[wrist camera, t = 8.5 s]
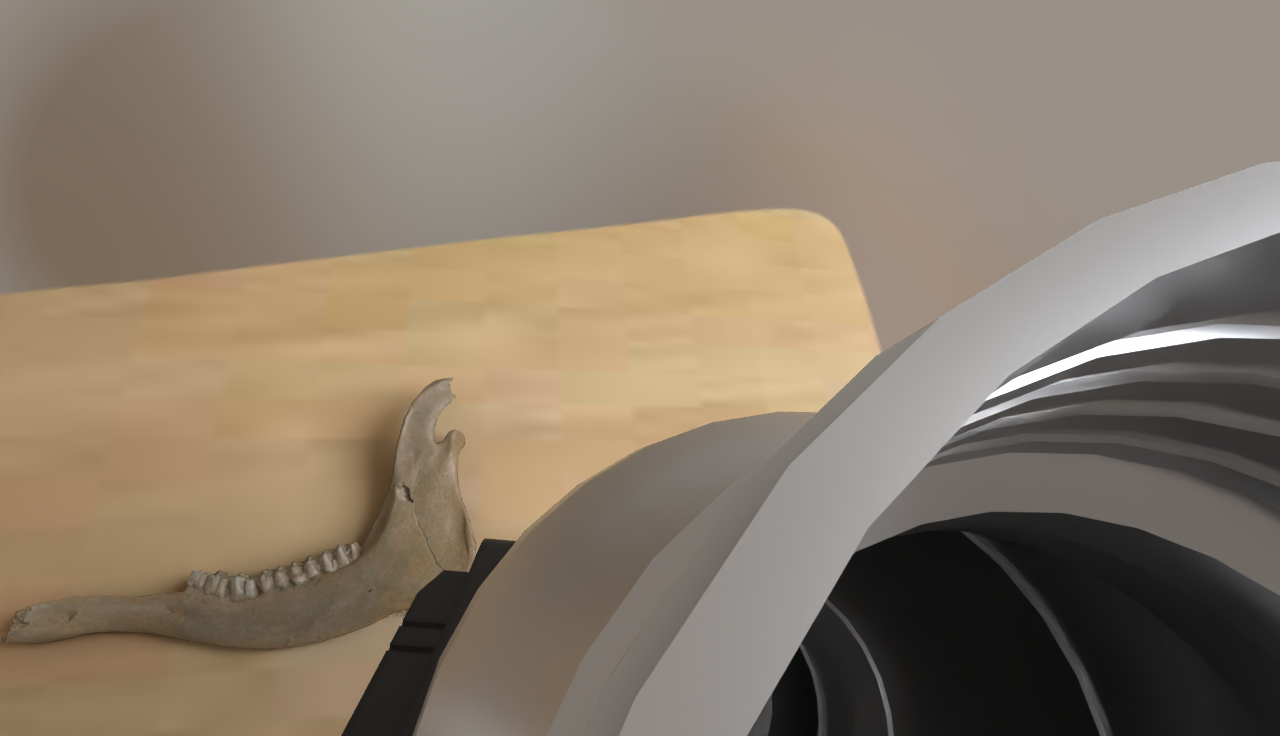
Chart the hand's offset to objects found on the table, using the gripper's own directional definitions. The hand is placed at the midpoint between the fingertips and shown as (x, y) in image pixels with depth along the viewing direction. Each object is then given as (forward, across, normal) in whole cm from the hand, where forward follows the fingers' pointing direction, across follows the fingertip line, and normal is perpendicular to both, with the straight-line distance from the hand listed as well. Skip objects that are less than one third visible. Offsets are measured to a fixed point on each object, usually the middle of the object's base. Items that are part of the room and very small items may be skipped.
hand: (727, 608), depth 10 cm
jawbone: (+17, +18, +11) cm, 27 cm away
